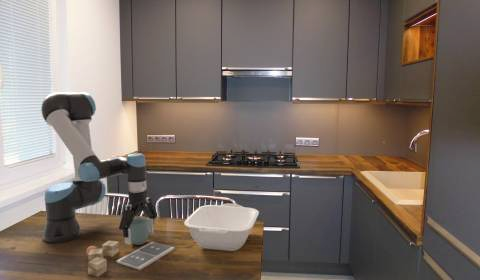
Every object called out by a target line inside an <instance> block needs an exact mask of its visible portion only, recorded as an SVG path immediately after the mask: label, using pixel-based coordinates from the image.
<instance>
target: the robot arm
mask: <svg viewBox="0 0 480 280" xmlns="http://www.w3.org/2000/svg"><path fill="white" fill-rule="evenodd" d="M96 110H97V106H96V102H95V100H94V98H93V96H92V95H90V94H89V93H87V92H83V91H81V92H80V91H77V92H76V91H75V92H73V91H71V92H70V91H69V92H68V91H67V92H62V91H61V92H59V91H56V92H52V93H50V94H49V95H47V96H46V97H45V98H44V100H43V102H42V104H41V115H42V119H44V121H45V123H46V124H47V125H48V126H51V127H52V129H54V131H55V132H56V134H57V136H58V137H59V138H60V140H61V142H62V143H63V144H64V145H65V146H66V147H65V148H67V149H68V151H69V152H70V155H72V159H73V167H74V177H73V178H72V180H71V181H72V182H67V181H66V182H62V183H55V184H53V185H50V186H48V187H47V189H46V190H45V192H44V206H45V216H46V217H45V218H46V223H45V227H44V231H43V234H42V238H43V239H42V240H43V241H45V242H46V243H53V244H54V243H64V242H69V241H72V240H74V239H77V238H78V237H80V236H81V232H82V231H81V227H80V224H79V222H78V220H77V217H76V211H77V210H79V209H83V208H86V207H90V206H94V205H96V204H99V203H101V202H102V201H103V199H105V196H106V191H107V190H106V189H107V188H106V185H105V183H104V181H103V180H102V179H107V178H111V177H115V176H119V175H122V176H127V189H128V201H130V202H129V204H124V206H123V213H122V216H121V220H120V222H119V225H118V226H119V227H118V229H119V230H122V231H123V238H124V244H125V245H127V246H130V245H132V242H131V231H130V229H129V227H130V225H131V223H132V221H133V219H135V217H136V215H137V214H138V213H140V212H143V213H144V214H145V215H146V216H147V218H146V219H148V234H154V233H155V232H154V231H155V230H154V224H155V222H154V219H155V220H156V218H157V217H156V216H157V215H158V213H157V211H156V208H155V206H154V204H153V202H152V197H149V196H148V192H147V163H146V156H145V154H143V153H129V154H128V155H126V157H124V156H119V155H116V156H113V155H112V156H110V157H109V158H107V159H102V160H100V158H98V156H97V155H96V153H95V152H94V150H93V147H92V141H91V140H92V139H91V134H90V133H91V132H90V131H91V130H90V125H89V124H90V123H91V121H92V118H93V116H95V115H96Z"/></svg>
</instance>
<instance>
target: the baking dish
mask: <svg viewBox="0 0 480 280" xmlns="http://www.w3.org/2000/svg"><path fill="white" fill-rule="evenodd" d="M259 214H260V212H259V210H257V209H256V208H254V207H244V206H242V205H239V204H237V203H222V204H220V205H219V204H218V205H215V204H208V205H203V206H202V205H201V206H199V207H197V208H196V209H195V211H193V213H191V214H190V215H189V216H188V217H187V219H185V220H184V223H183V225H184V226H185V227H186V228H188V230H189V233H190V237H192V240H193V241H194V242H195V243H196V244H197V245H198V246H200V247H201V248H202V249H206V250H215V251H217V250H218V251H226V252H228V251H229V252H235V251H238V250H240V249H241V248H242V247H243V245H244V244H245V243H246V241H247V239H248V237H249V236H250V233H251V231H252V228H254V225H255V223H256V221H257V219H258V217H259Z"/></svg>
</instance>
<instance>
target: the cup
mask: <svg viewBox="0 0 480 280" xmlns="http://www.w3.org/2000/svg"><path fill="white" fill-rule="evenodd" d="M129 229H130V231H131V244H133V245H135V246H141V245H144V244H145V243H146V242H147V241H148V239H149V233H148V219H147V218H145V217H144V218H143V217H136V218H134V219H133V221H132V223H131V225H130V227H129Z"/></svg>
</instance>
